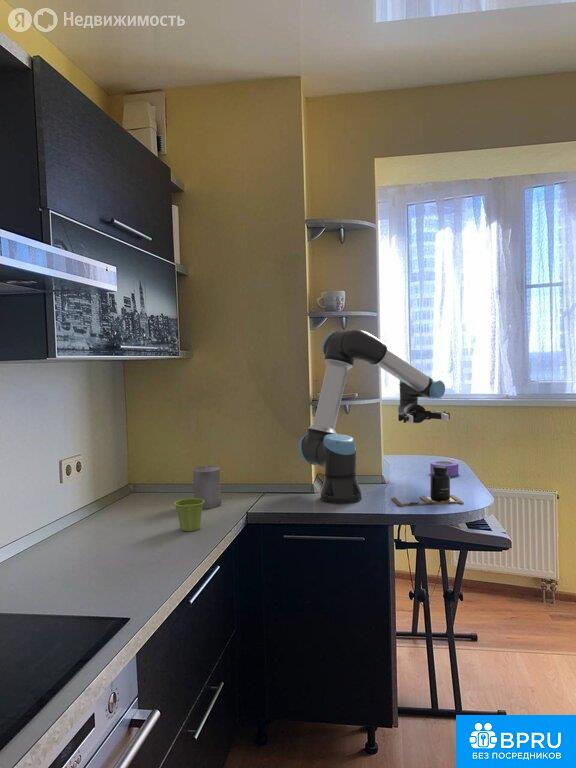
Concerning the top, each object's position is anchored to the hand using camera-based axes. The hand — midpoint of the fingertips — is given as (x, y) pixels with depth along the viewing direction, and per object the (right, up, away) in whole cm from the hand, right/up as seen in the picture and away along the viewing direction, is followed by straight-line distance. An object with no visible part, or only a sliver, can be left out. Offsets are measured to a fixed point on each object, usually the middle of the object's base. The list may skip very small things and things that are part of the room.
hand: (430, 419), depth 219 cm
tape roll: (+14, -26, +33) cm, 45 cm away
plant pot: (-84, -33, -35) cm, 97 cm away
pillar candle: (-83, -31, -7) cm, 89 cm away
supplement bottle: (+1, -29, -10) cm, 30 cm away
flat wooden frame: (-4, -29, -10) cm, 31 cm away
